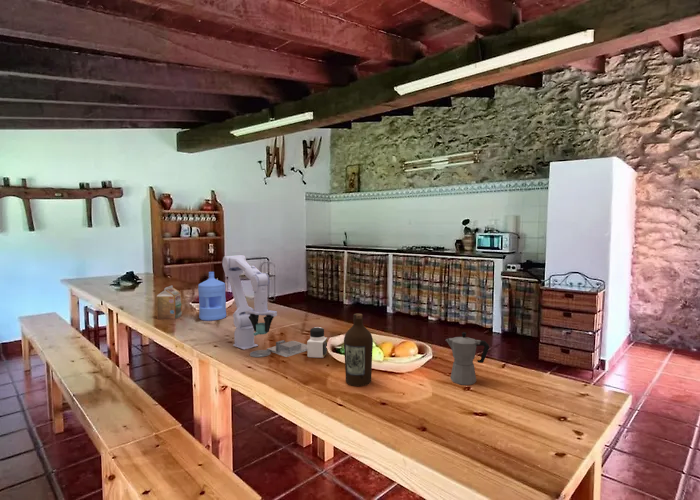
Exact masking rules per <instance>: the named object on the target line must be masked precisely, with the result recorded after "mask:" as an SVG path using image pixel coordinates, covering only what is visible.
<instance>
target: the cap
mask: <svg viewBox="0 0 700 500" xmlns="http://www.w3.org/2000/svg"><path fill="white" fill-rule="evenodd" d="M268 333H269V332H265V322H258V323H257V324H256V332H255V331H254V333H253V334H254V337H256V336H258V335H266V334H268Z"/></svg>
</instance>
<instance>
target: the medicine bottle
mask: <svg viewBox="0 0 700 500" xmlns="http://www.w3.org/2000/svg"><path fill="white" fill-rule="evenodd" d="M309 333H310V336H309V337H310V338H309V339H308V340H307V342H306V345H307V351H306V352H307V354H306V355H307V357H308V358H318V359H319V358H320V359H324V357H325V356H326V355H327V354H328V337H327V336H326V337H325V329H324V328H323V327H319V326H316V327H312V328H310V331H309ZM326 346H327V348H326Z"/></svg>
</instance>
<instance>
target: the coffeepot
mask: <svg viewBox="0 0 700 500" xmlns="http://www.w3.org/2000/svg"><path fill="white" fill-rule="evenodd" d="M461 335H462V336H455V337H449V338H446V339H445V342H446V343H447V344H448V345H449V347H450V348H451V351H452V358H453V363H452V368H451V373H450V380H451V382H453V384H454V383H455V384H457V385H460V386H462V385H463V386H470V385H471V386H472V385H474V384H475V383H476V382H477V376H476V370H475V369H476V368H475V365H474V360H475V356H476V351H477V347H481V346H483V349H482V354H481V356H480V357H481V358H480V359H477V360H476V362H477V363H480V364H483V363H484V362H485V359H486V358H487V357H486V356H487V355H488V352H489V349H490V345H489V344H488V342H487V341H486V340H484V339H483V340H481V339H475V338H471V337H469V336H467V332H466V331H463V332H461ZM466 336H467V337H466Z"/></svg>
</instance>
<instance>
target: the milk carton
mask: <svg viewBox="0 0 700 500" xmlns="http://www.w3.org/2000/svg"><path fill="white" fill-rule="evenodd" d="M182 299H183V298H182V292H181V291H180V290H178V289H176V288H175V287H173V285H172V284H171V285H169V286H166V287H164V290H162V291H161V292H160V293H158V294H157V295H156V318H157V320H163V321H164V320H170V321H171V320H172V321H173V320H177V319H178V318H180V317H181V316H183V306H182Z"/></svg>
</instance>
